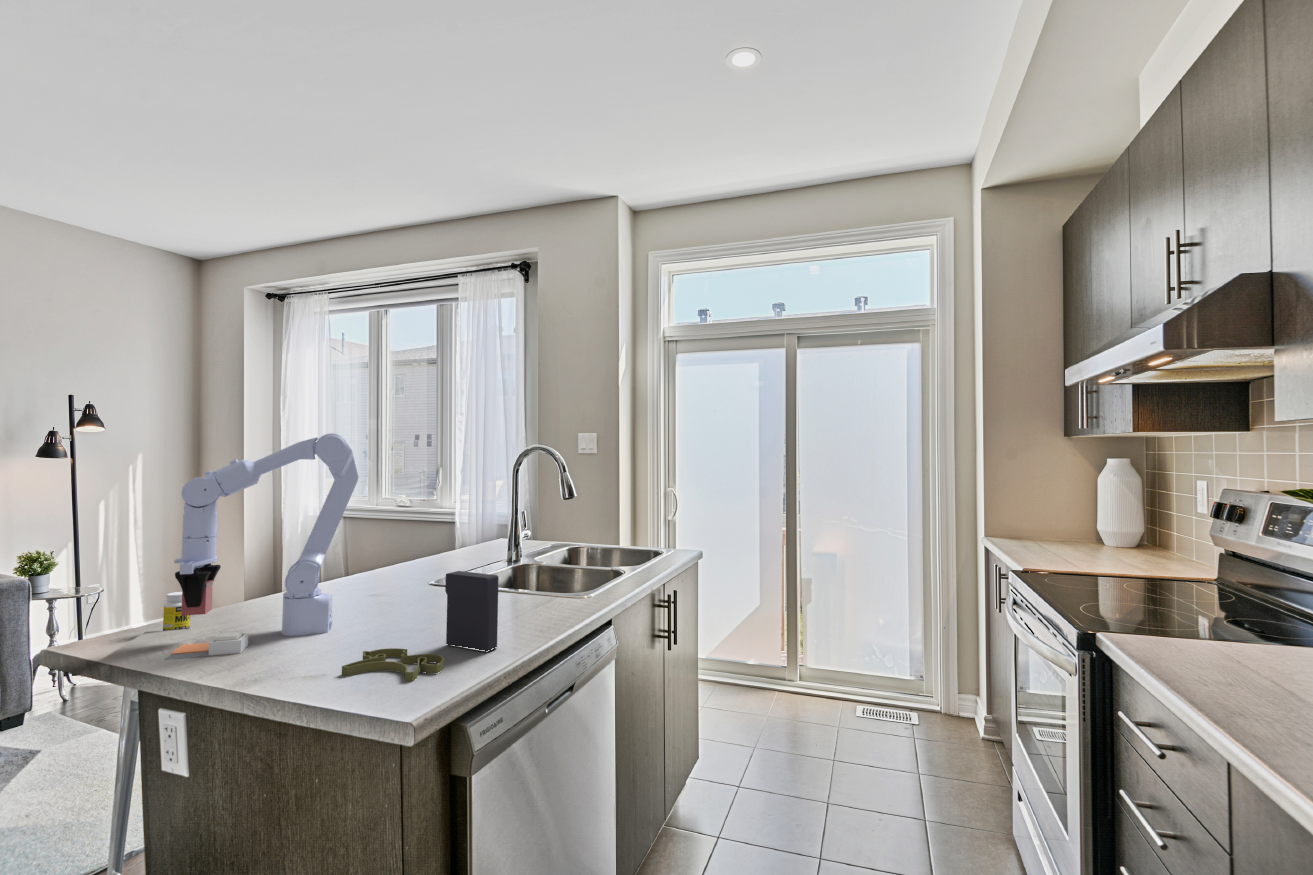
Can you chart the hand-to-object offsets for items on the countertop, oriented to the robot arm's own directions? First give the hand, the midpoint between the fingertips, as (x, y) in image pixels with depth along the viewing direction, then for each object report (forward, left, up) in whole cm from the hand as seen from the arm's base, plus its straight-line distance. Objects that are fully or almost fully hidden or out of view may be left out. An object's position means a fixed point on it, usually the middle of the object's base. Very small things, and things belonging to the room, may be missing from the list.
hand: (197, 604), depth 128 cm
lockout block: (0, 0, -2) cm, 2 cm away
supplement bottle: (+8, -14, -9) cm, 18 cm away
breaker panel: (-4, +7, -9) cm, 12 cm away
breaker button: (-8, +9, -7) cm, 14 cm away
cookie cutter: (-38, +26, -9) cm, 47 cm away
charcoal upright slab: (-52, +17, -9) cm, 56 cm away
